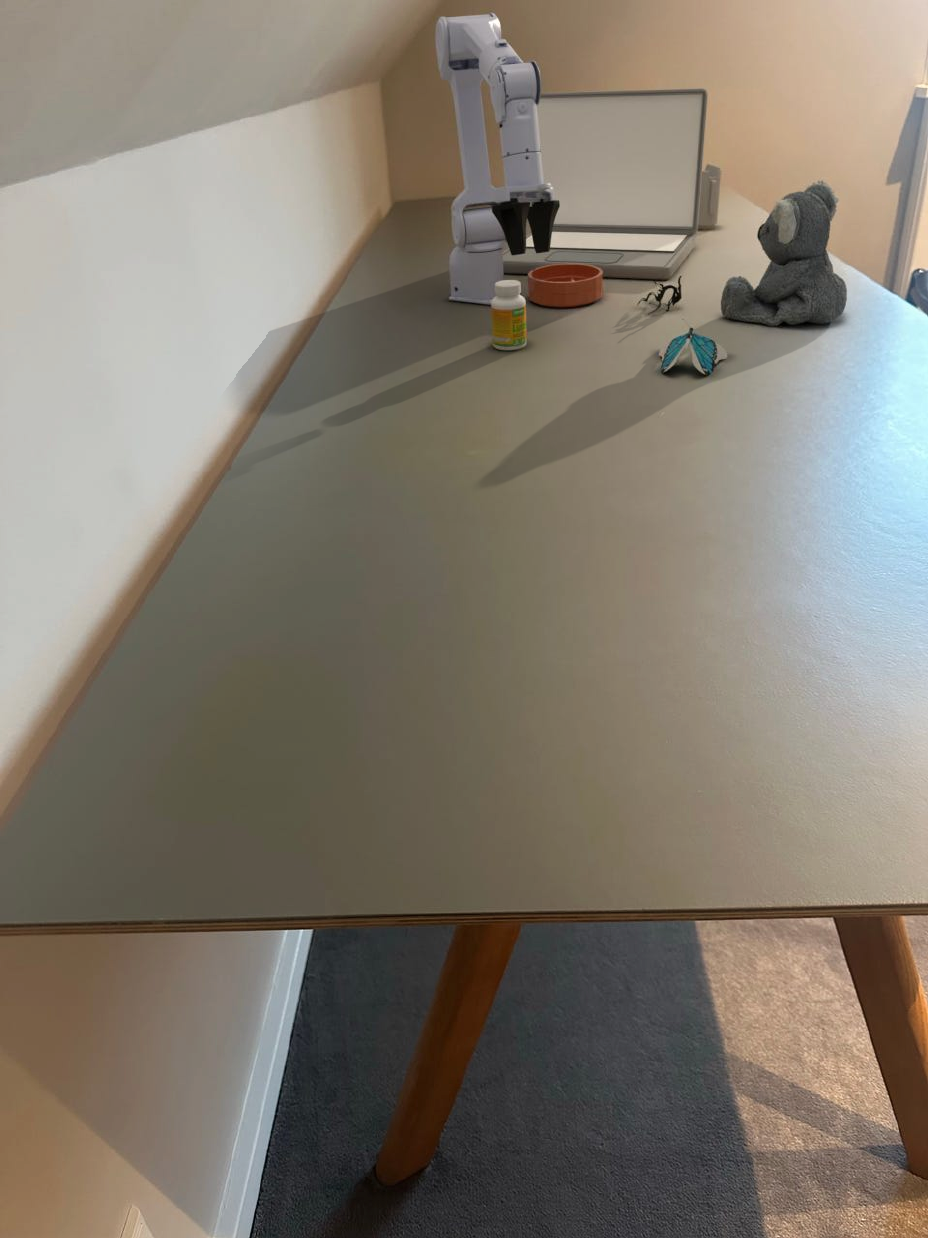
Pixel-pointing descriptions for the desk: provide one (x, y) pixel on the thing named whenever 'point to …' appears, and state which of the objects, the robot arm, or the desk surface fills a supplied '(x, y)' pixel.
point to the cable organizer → (709, 197)
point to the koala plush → (792, 265)
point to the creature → (675, 297)
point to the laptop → (620, 180)
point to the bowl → (565, 285)
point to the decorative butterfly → (693, 352)
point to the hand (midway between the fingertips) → (530, 253)
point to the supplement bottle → (508, 316)
